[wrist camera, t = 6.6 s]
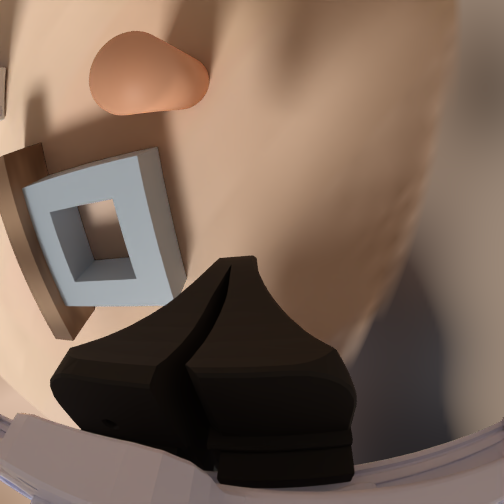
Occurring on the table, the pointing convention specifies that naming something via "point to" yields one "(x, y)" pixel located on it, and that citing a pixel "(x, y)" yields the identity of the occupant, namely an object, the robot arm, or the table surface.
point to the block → (132, 226)
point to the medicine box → (2, 92)
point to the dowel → (145, 76)
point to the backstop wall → (34, 241)
